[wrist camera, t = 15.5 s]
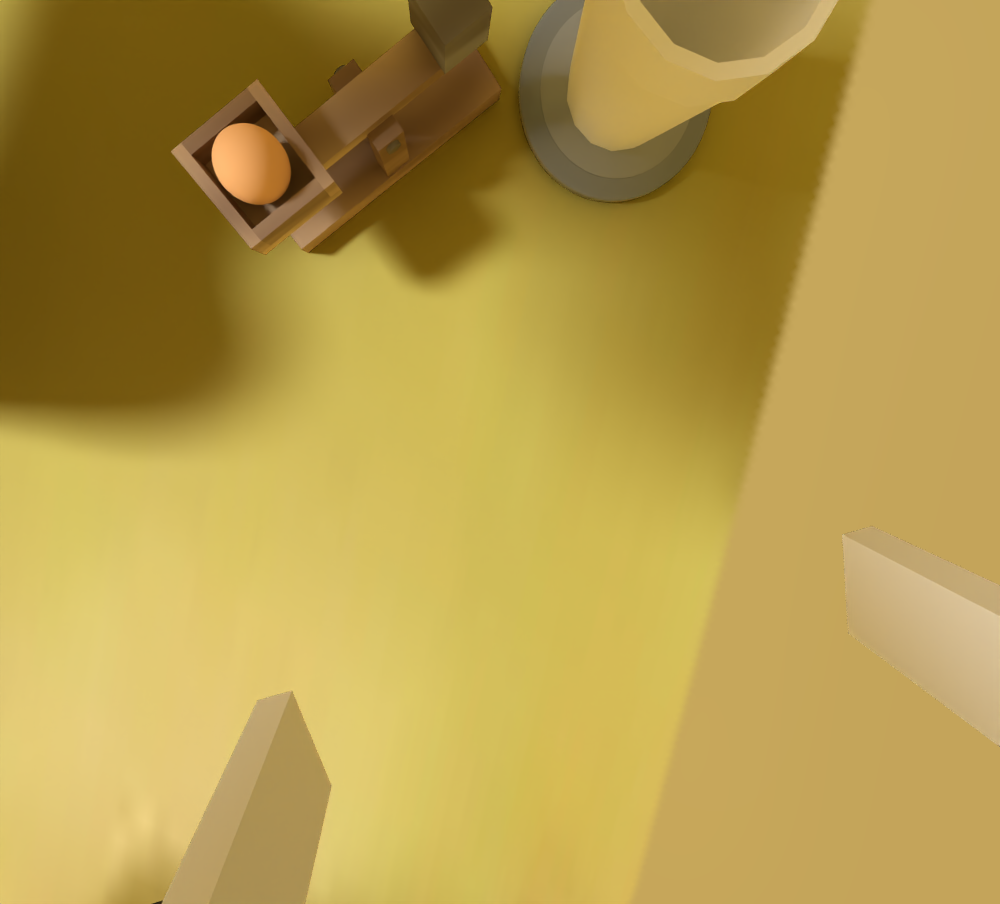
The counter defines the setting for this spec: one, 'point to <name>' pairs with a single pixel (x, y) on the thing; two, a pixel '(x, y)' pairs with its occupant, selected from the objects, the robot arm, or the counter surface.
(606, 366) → the counter surface
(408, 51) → the catapult
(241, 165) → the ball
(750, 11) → the foam cup
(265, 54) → the counter surface
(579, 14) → the coaster
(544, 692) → the counter surface
